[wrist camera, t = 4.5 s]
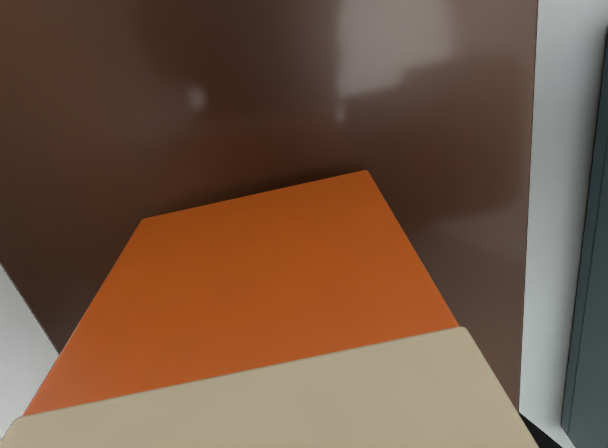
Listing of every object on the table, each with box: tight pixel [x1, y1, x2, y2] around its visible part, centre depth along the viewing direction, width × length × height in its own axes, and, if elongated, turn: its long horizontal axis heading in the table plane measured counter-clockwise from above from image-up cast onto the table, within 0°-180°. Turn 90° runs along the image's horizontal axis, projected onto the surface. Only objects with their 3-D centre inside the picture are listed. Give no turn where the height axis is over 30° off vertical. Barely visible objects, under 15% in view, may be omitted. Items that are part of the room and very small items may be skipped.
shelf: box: [0, 0, 538, 412], centre depth 11 cm, size 10×16×4 cm, turn 12°
